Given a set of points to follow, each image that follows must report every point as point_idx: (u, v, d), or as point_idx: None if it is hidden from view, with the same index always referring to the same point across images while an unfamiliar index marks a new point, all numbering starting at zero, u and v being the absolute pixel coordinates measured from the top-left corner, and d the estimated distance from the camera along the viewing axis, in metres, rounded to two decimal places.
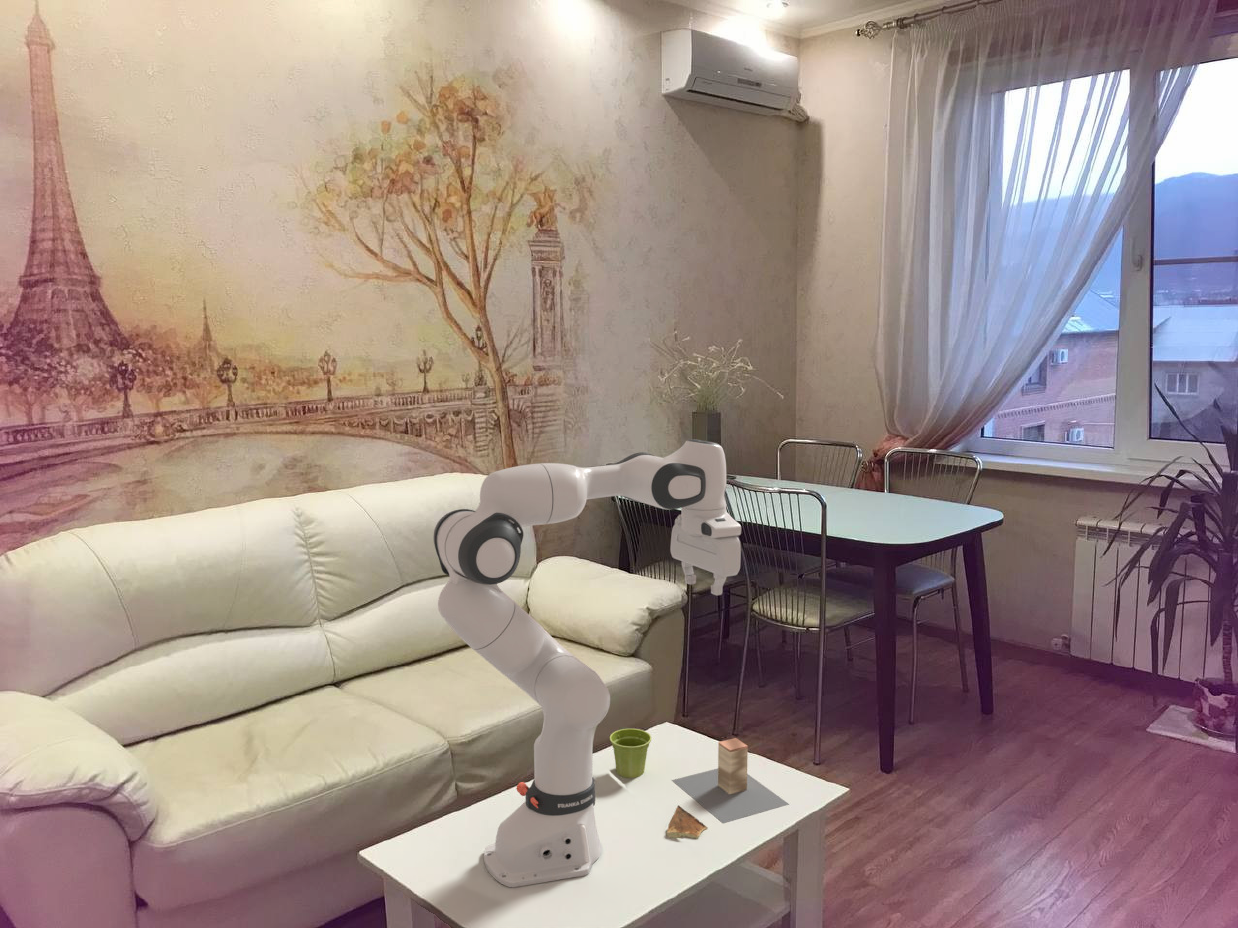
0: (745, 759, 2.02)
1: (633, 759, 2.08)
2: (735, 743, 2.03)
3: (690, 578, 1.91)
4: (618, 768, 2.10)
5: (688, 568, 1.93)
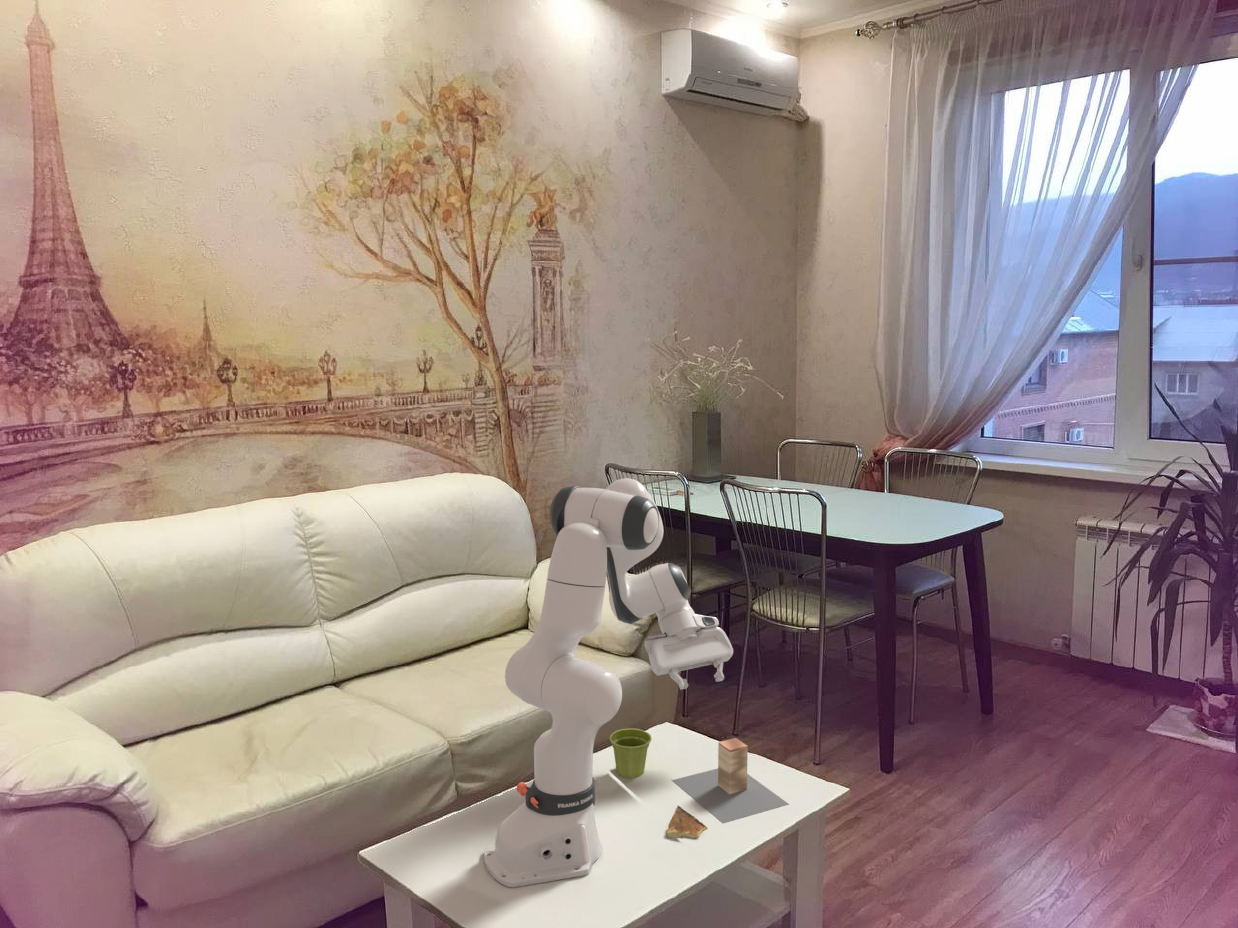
0: (745, 759, 2.02)
1: (633, 759, 2.08)
2: (735, 743, 2.03)
3: None
4: (618, 768, 2.10)
5: None
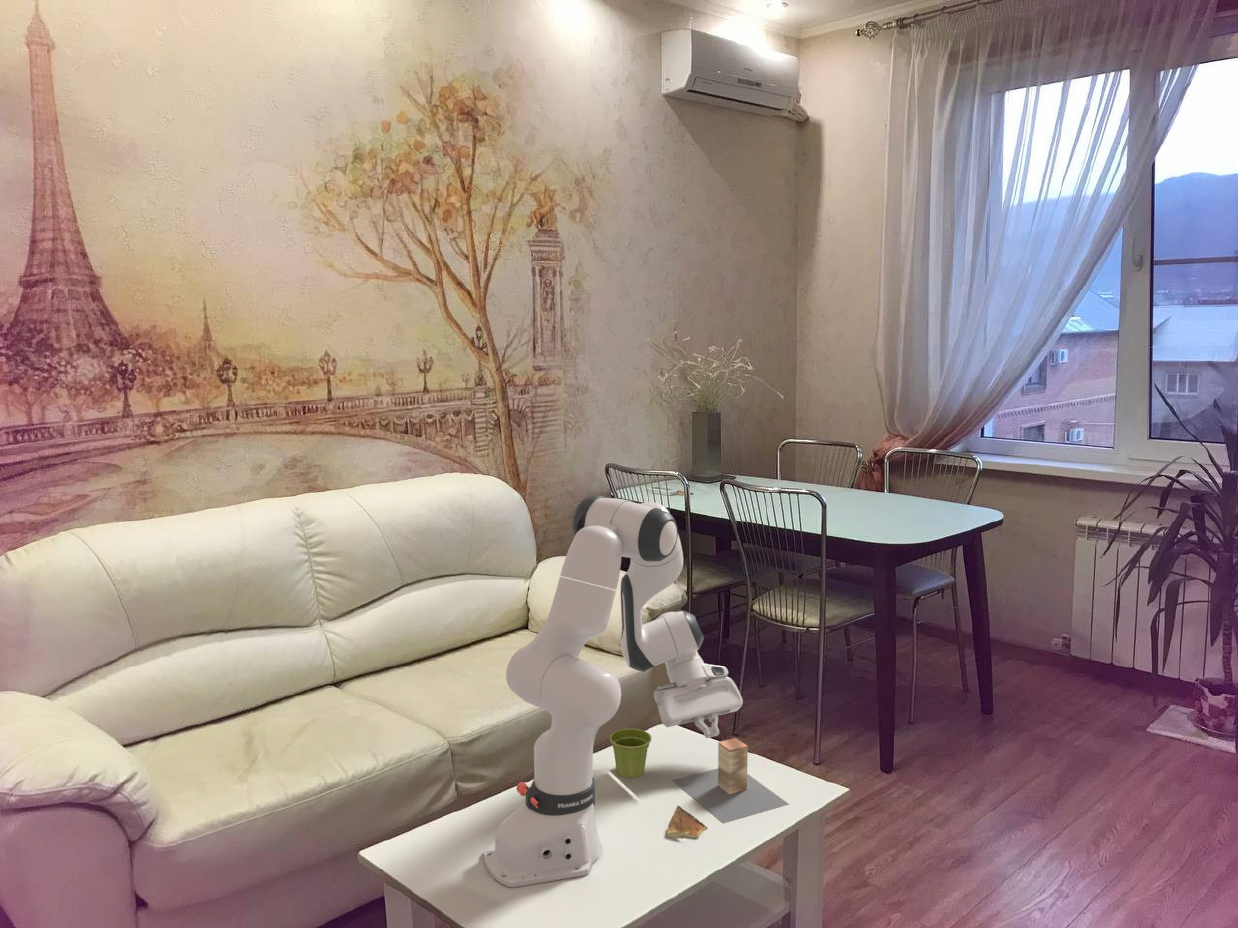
0: (745, 759, 2.02)
1: (633, 759, 2.08)
2: (735, 743, 2.03)
3: None
4: (618, 768, 2.10)
5: None
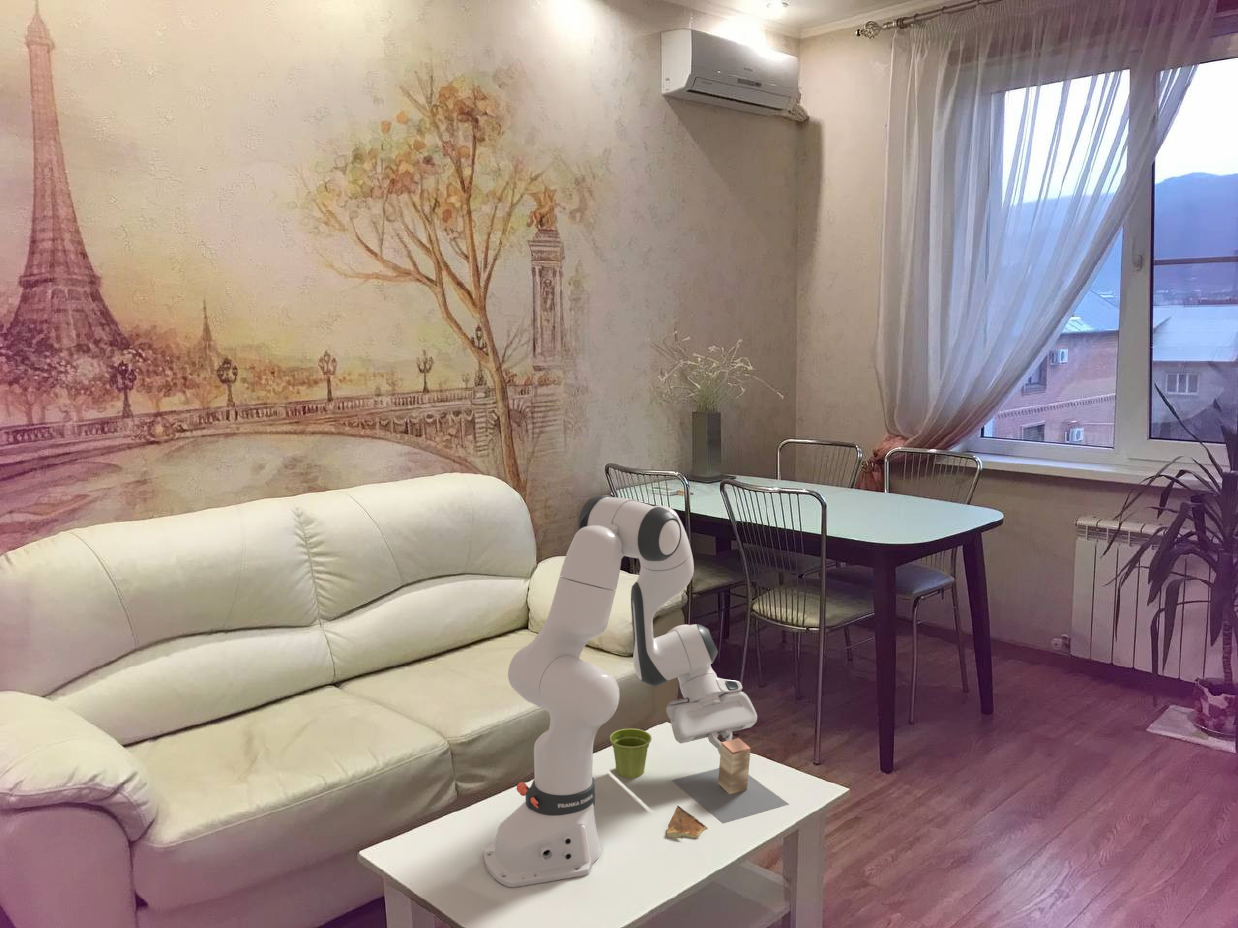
0: (747, 761, 2.02)
1: (633, 759, 2.08)
2: (738, 745, 2.02)
3: None
4: (618, 768, 2.10)
5: None
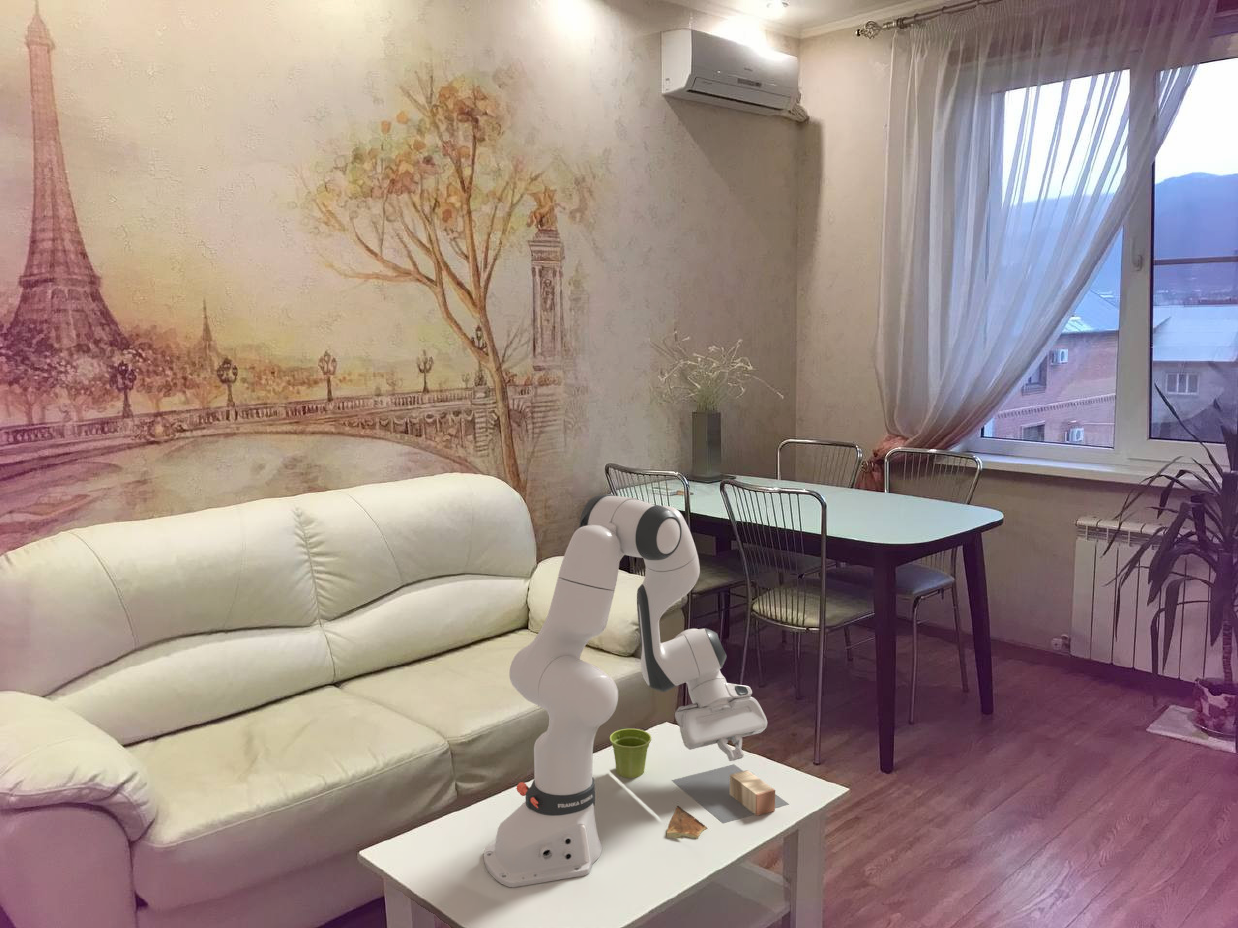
0: None
1: (633, 759, 2.08)
2: (767, 803, 1.94)
3: None
4: (618, 768, 2.10)
5: None
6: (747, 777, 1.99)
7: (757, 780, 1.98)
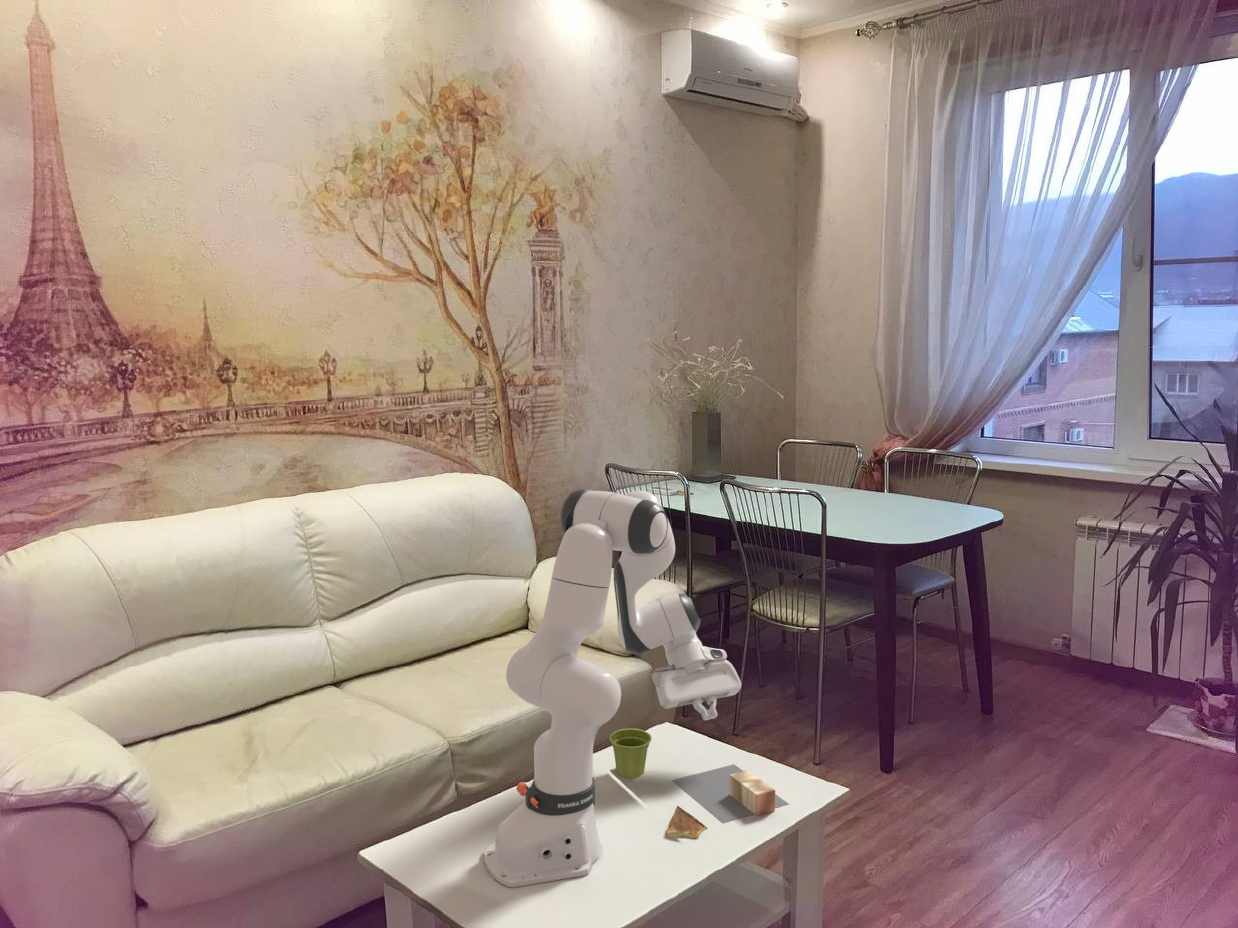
0: None
1: (633, 759, 2.08)
2: (767, 803, 1.94)
3: None
4: (618, 768, 2.10)
5: None
6: (747, 777, 1.99)
7: (757, 780, 1.98)
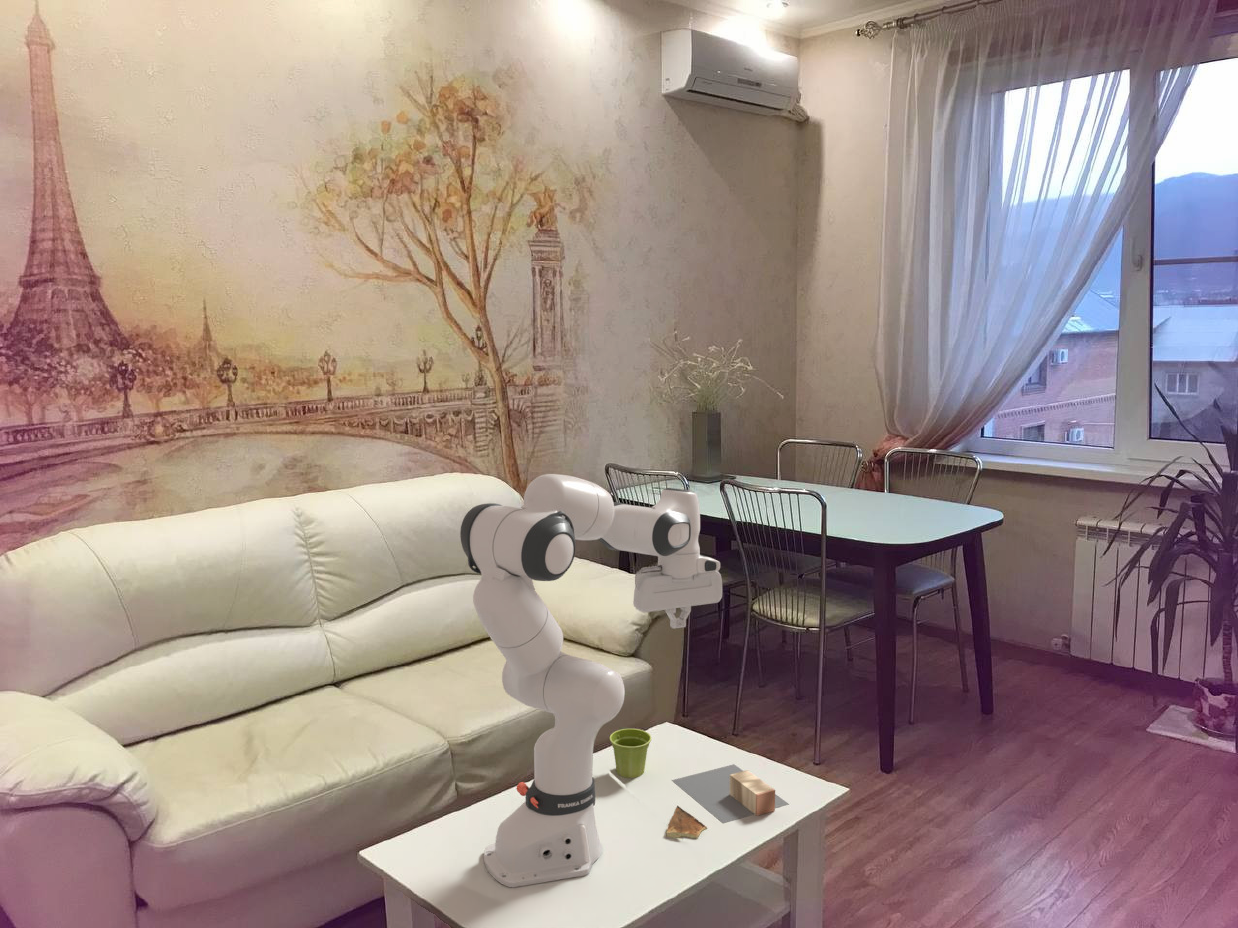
0: None
1: (633, 759, 2.08)
2: (767, 803, 1.94)
3: None
4: (618, 768, 2.10)
5: None
6: (747, 777, 1.99)
7: (757, 780, 1.98)
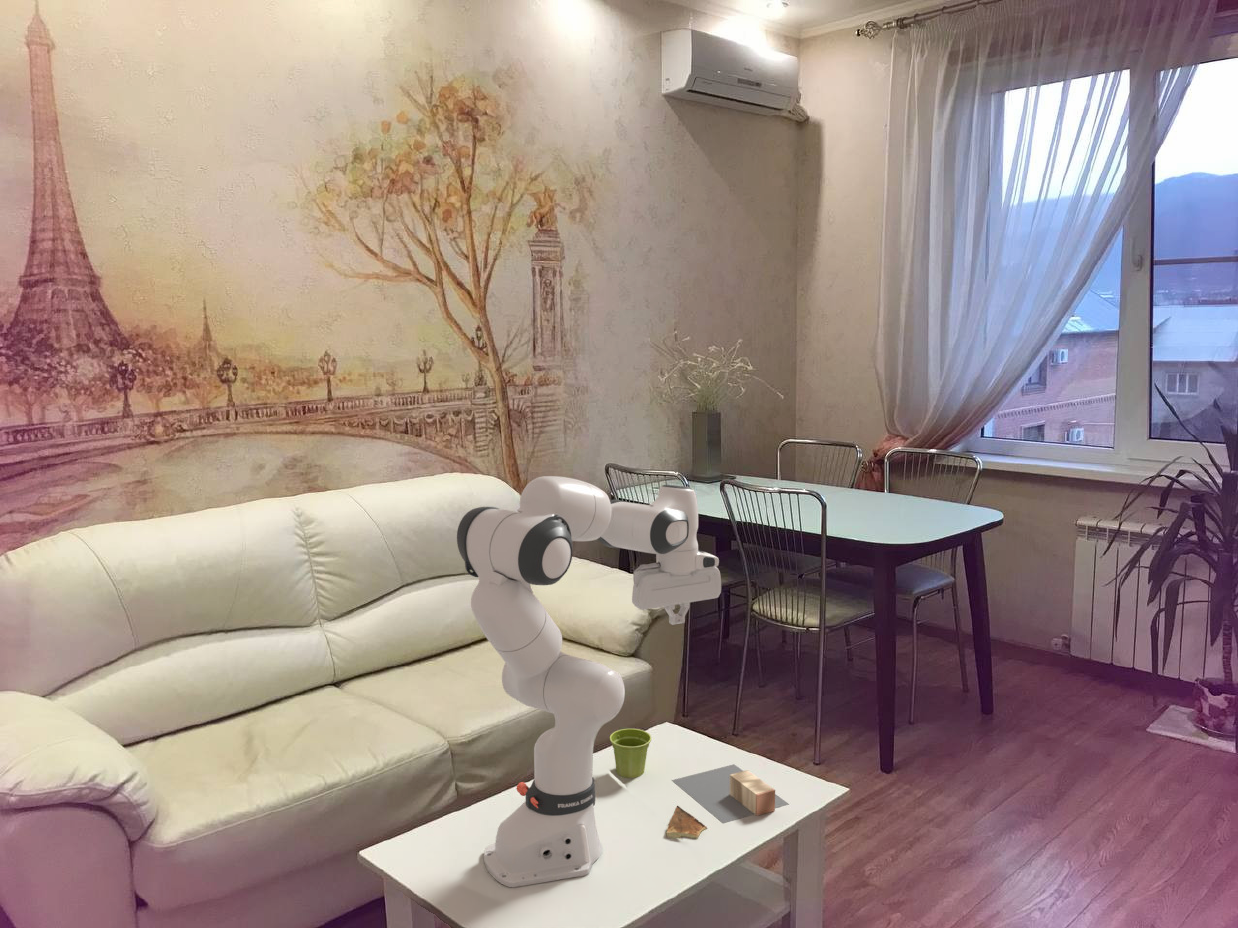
0: None
1: (633, 759, 2.08)
2: (767, 803, 1.94)
3: None
4: (618, 768, 2.10)
5: None
6: (747, 777, 1.99)
7: (757, 780, 1.98)
